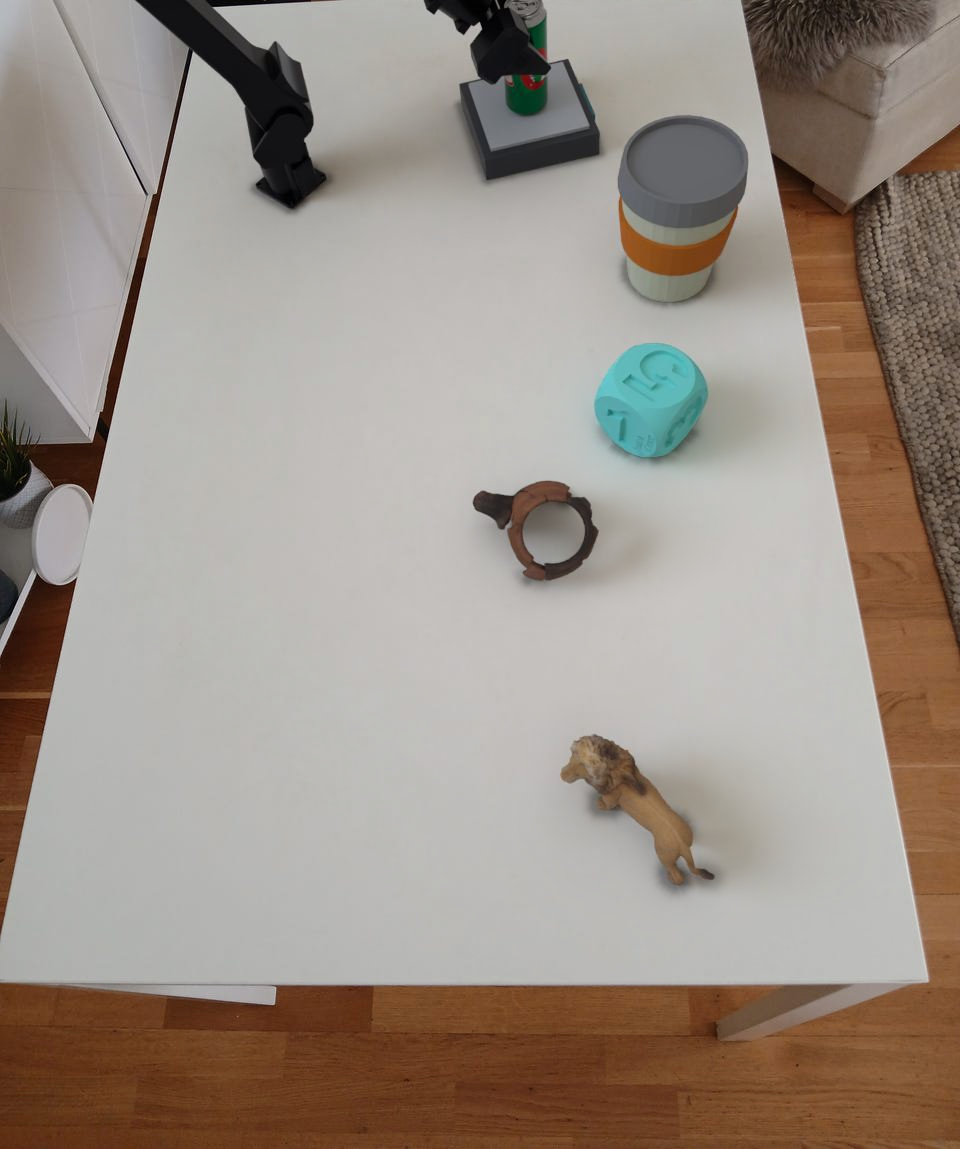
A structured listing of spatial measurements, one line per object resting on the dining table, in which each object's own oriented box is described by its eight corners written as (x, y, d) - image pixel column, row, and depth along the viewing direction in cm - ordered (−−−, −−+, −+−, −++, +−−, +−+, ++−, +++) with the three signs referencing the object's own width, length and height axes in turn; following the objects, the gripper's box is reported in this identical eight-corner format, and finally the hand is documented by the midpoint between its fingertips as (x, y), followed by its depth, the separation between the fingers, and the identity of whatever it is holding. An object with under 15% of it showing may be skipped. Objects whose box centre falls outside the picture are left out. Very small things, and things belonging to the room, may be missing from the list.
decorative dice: (591, 428, 93) (594, 380, 86) (640, 379, 95) (647, 328, 88) (653, 471, 90) (661, 425, 83) (703, 419, 92) (715, 370, 85)
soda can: (507, 90, 111) (501, -10, 100) (548, 89, 110) (547, -11, 99) (504, 118, 109) (498, 20, 98) (546, 118, 108) (545, 19, 97)
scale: (486, 180, 109) (484, 156, 106) (461, 104, 115) (458, 79, 112) (604, 153, 110) (605, 128, 107) (572, 79, 116) (573, 53, 113)
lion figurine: (551, 788, 78) (550, 763, 70) (589, 740, 79) (592, 710, 71) (695, 904, 73) (712, 892, 65) (732, 851, 74) (753, 833, 66)
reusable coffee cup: (748, 264, 101) (778, 149, 87) (678, 334, 97) (697, 226, 84) (658, 212, 105) (673, 95, 91) (587, 277, 102) (592, 166, 88)
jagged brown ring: (597, 495, 90) (615, 494, 82) (572, 587, 91) (587, 595, 83) (480, 463, 89) (486, 459, 81) (456, 556, 90) (459, 562, 82)
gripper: (503, -52, 84) (613, 36, 94) (459, -159, 92) (565, -67, 102) (431, 48, 91) (540, 120, 101) (396, -59, 99) (501, 18, 109)
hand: (537, 45), depth 103 cm, fingers open, 9 cm apart
